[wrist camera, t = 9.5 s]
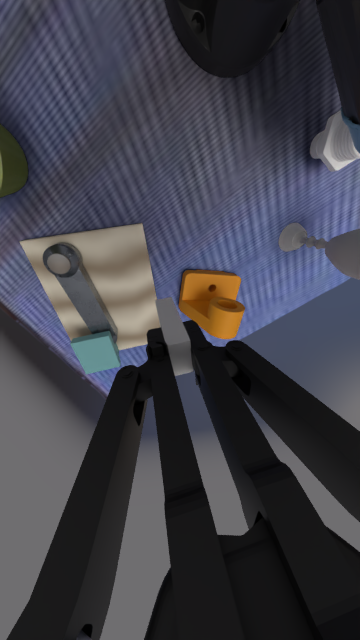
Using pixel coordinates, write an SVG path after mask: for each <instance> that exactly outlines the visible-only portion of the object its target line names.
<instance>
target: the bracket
mask: <svg viewBox="0 0 360 640" xmlns="http://www.w3.org/2000/svg"><path fill="white" fill-rule="evenodd" d="M240 283H241V278H240V277H239V276H237V275H236V274H234V273H225V272H224V271H211V270H198V269H196V270H186V271H185V272H184V273H183V278H182V285H181V292H180V299H179V308H180V311H182V312H183V313H184V314H185V315H187V316H188V317H189V318H190V319H192V320H193V321H195V322H196V323H197V324H198V325H199V326H200V327H201V328H203V329H204V330H205V331H206V332H208V333H209V334H210V335H212V336H214V337H217V338H221V339H231V338H234V337H235V336H236V334H237V331H238V328H239V325H240V322H241V319H242V316H243V313H244V310H245V307H244V306H243V305H242V304H241V303H240V302H238V301H235V300H236V296H237V293H238V290H239V286H240Z"/></svg>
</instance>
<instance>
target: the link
mask: <svg viewBox="0 0 360 640" xmlns="http://www.w3.org/2000/svg"><path fill="white" fill-rule="evenodd" d="M54 253H62V254H64V255H66V256H67V257H68V258H69V259H70V261H71V268H70V269H69V270H68V272H66V273H64V274H58V273H55V272H53V271H52V270H51V269H50V268H49V266H48V264H47V260H48V258H49V257H50V256H51V255H52V254H54ZM82 261H83V260H82V255H81V253H80V252H79V250H78V249H77V248H76V247H75V246H73V245H71V244H69V243H65V242H59V243H56V244H54V245H52V246H50V247H48V248H47V249H46V250H45V251H44V253H43V263H44V265H45V267H46V269H47V270H48V271H49V272H50V273H52V274H53V275H55V277H56V278H57V280H58V281H59V283H60V285H61V286H62V288H63V289H64V291H65V292H66V294H67V296H68V297H69V299H70V300H71V302H72V303H73V305H74V306H75V308H76V310H77V311H78V313H79V314H80V316H81V317H82V319H83V321H84V322H85V324H86V325H87V327H88V328H89V330H90V331H91V333H92V334H96V333H101V332H106V331H110V334H111V336H112V339H113V342H114V344H115V343H116V342H117V336H118V329H117V327H116V325H115V323H114V321H113V319H112V317H111V316H110V314H109V312H108V310H107V308H106V306H105V304H104V303H103V301H102V299H101V297H100V295H99V293H98V291H97V289H96V288H95V286H94V284H93V282H92V280H91V278H90V276H89V275H88V273H87V271H86V269H85V267H84V265H83V263H82Z"/></svg>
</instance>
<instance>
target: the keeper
mask: <svg viewBox="0 0 360 640" xmlns="http://www.w3.org/2000/svg"><path fill="white" fill-rule="evenodd" d="M70 344H71V346H72V348H73V350H74V352H75V354H76V356H77V357H78V359H79V361H80V363H81V365H82V367H83V369H84V371H85V372H86V374H89V373H94V372H98V371H102V370H107V369H111V368H115V367H120V363H121V360H120V358H119V349H118V346H117V344H116V343H115V344H114V342H113V339H112V336H111V334H110V331H106V332H101V333H96V334H91V335H87V336H82V337H77V338H73V339H72V341H71V343H70Z"/></svg>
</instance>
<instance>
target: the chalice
mask: <svg viewBox="0 0 360 640" xmlns="http://www.w3.org/2000/svg"><path fill="white" fill-rule="evenodd" d="M304 244H306V246H307V247H308V248H310V247H312V246H315V247H316V249H321V248H325V254H326V256H327V257H328V258H329V260H330V261H331V262H332V264H333V265H334V266H335V267H336V268H337V269H338V270H339V271H341V272H342V273H343V274H345V275H347V276H350V277H353V278H356V279H359V280H360V229H357V230H353V231H350V232H347V233H344V234H341V235H339V236H336V237H334V238H332V239H331V240H330V241H329V242H327V241H325V240H324V239H323V238H321V239H319V240H316V238H315V237H314V236H311V237H310V238H307V231H306V230H305V229H304V228H303V227H302V226H301V225H300V224H299V223H291V224H289V225H288V226H286V227H285V228H284V229H283V231H282V233H281V234H280V237H279V247H280V248H281V250H283V251H285V252H288V251H292V250H296V249H299V248H300V247H302V246H303V245H304Z"/></svg>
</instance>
